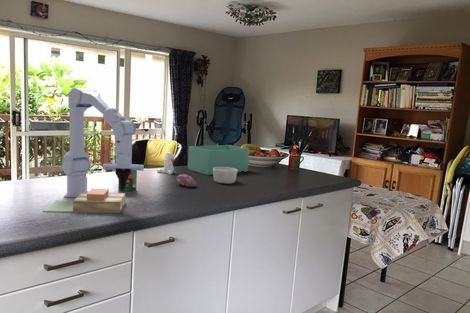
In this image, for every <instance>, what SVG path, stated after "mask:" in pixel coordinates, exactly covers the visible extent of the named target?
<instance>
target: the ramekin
mask: <svg viewBox="0 0 470 313" xmlns="http://www.w3.org/2000/svg"><path fill="white" fill-rule="evenodd" d="M238 173H239V172H238V170H237V169H235V168H229V167H215V168H213V174H212V175H213V180H214V183H219V184H234V183H235V182H236V180H237V175H238Z"/></svg>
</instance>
